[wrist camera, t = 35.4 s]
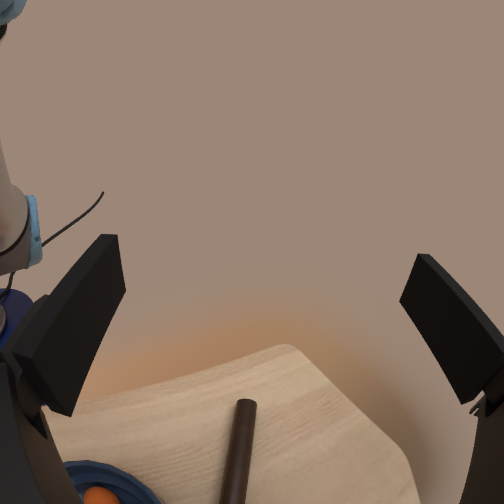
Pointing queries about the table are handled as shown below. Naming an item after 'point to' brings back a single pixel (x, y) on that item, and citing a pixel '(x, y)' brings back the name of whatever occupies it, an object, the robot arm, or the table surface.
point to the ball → (100, 496)
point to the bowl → (109, 482)
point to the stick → (239, 453)
